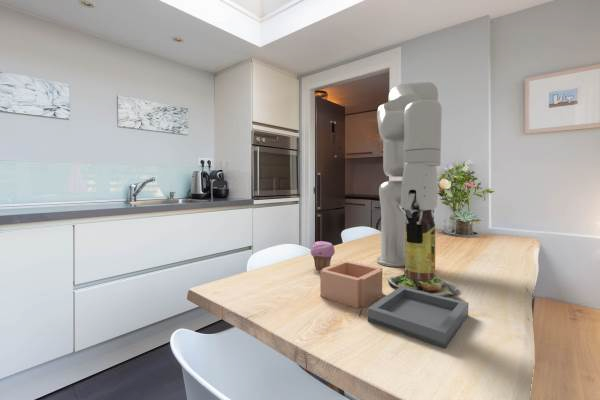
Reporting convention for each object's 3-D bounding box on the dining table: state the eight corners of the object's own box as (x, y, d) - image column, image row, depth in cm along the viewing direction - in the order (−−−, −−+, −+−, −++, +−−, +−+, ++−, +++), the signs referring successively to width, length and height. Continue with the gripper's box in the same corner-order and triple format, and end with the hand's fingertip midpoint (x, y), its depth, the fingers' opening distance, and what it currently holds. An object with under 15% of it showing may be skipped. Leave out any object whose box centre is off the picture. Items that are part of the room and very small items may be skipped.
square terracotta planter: (344, 282, 89) (344, 260, 88) (384, 293, 80) (385, 268, 79) (318, 295, 79) (318, 270, 78) (360, 309, 70) (360, 281, 70)
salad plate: (479, 296, 78) (479, 279, 78) (431, 308, 71) (431, 289, 71) (422, 275, 96) (422, 262, 96) (380, 283, 89) (380, 269, 89)
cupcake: (311, 264, 109) (311, 238, 108) (334, 265, 108) (334, 239, 107) (309, 271, 100) (309, 243, 99) (334, 272, 99) (334, 244, 98)
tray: (400, 297, 77) (401, 286, 77) (468, 315, 66) (468, 302, 66) (367, 321, 64) (367, 308, 64) (445, 348, 53) (445, 333, 53)
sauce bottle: (438, 283, 61) (440, 189, 59) (407, 281, 62) (408, 189, 61) (430, 273, 67) (432, 188, 66) (402, 272, 68) (403, 188, 67)
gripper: (418, 162, 72) (417, 233, 73) (388, 158, 59) (387, 244, 60) (451, 160, 67) (449, 237, 68) (425, 155, 54) (423, 249, 55)
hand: (420, 239), depth 64 cm, fingers closed on sauce bottle, 6 cm apart
